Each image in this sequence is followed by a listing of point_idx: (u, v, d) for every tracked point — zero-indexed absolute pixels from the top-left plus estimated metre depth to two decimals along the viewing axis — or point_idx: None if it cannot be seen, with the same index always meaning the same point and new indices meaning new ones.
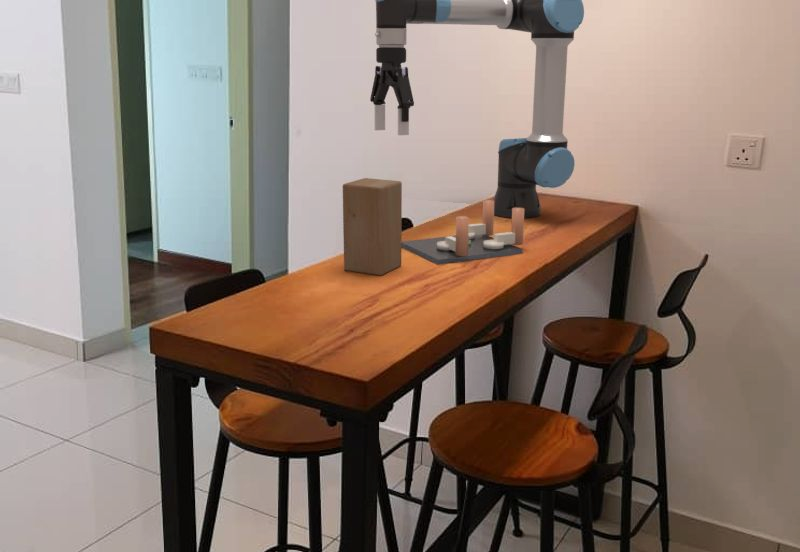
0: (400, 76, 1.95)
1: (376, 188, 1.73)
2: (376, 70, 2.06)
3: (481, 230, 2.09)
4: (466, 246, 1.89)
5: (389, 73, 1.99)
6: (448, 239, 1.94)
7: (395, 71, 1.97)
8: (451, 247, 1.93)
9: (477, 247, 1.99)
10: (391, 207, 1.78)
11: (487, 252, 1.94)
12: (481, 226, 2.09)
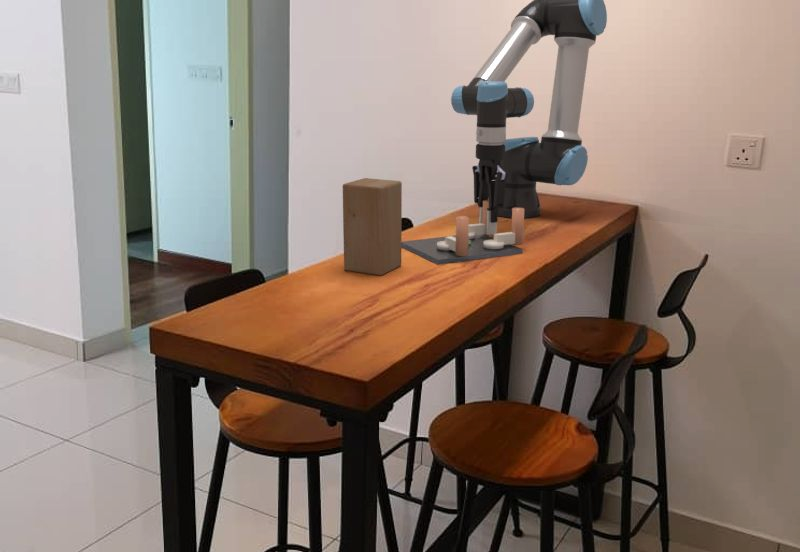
0: (498, 181, 2.02)
1: (376, 188, 1.73)
2: (474, 170, 2.11)
3: (481, 230, 2.09)
4: (466, 246, 1.89)
5: (488, 171, 2.04)
6: (448, 239, 1.94)
7: (495, 170, 2.03)
8: (451, 247, 1.93)
9: (477, 247, 1.99)
10: (391, 207, 1.78)
11: (487, 252, 1.94)
12: (481, 226, 2.09)
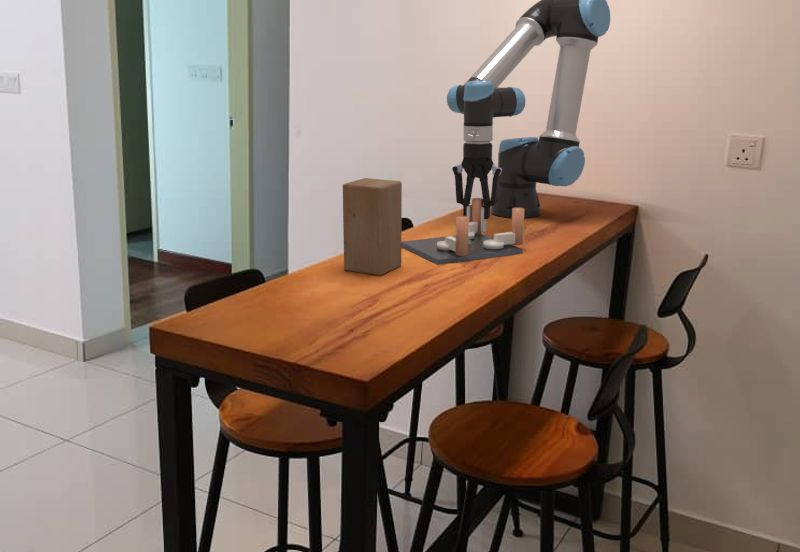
0: (497, 177, 2.07)
1: (376, 188, 1.73)
2: (455, 170, 2.11)
3: (475, 228, 2.11)
4: (466, 246, 1.89)
5: (482, 169, 2.07)
6: (448, 239, 1.94)
7: (490, 167, 2.07)
8: (451, 247, 1.93)
9: (477, 247, 1.99)
10: (391, 207, 1.78)
11: (487, 252, 1.94)
12: (475, 224, 2.11)
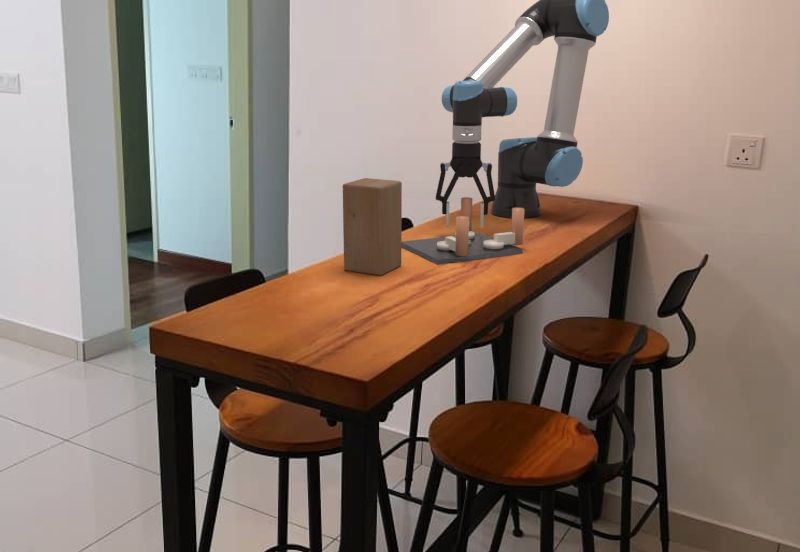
0: (490, 172, 2.09)
1: (376, 188, 1.73)
2: (443, 167, 2.09)
3: None
4: (466, 246, 1.89)
5: (474, 167, 2.09)
6: (448, 239, 1.94)
7: (481, 165, 2.09)
8: (451, 247, 1.93)
9: (477, 247, 1.99)
10: (391, 207, 1.78)
11: (487, 252, 1.94)
12: None
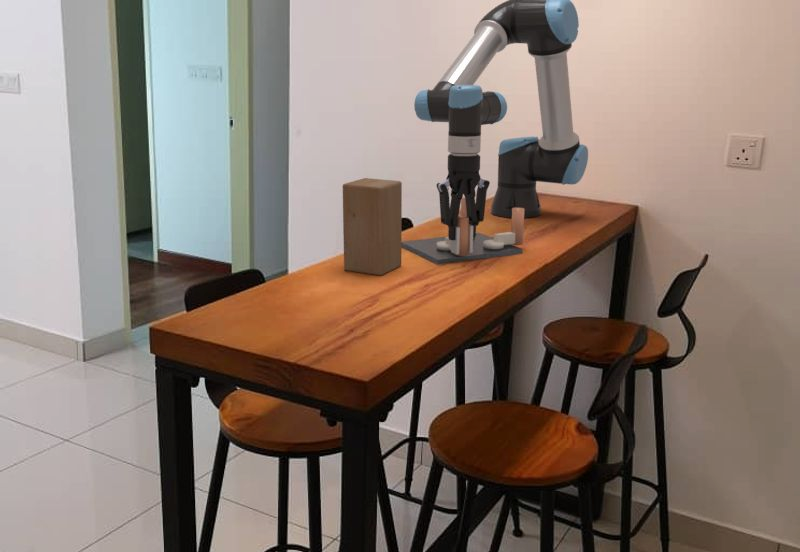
0: None
1: (376, 188, 1.73)
2: (444, 188, 1.83)
3: None
4: (466, 246, 1.89)
5: None
6: (448, 239, 1.94)
7: (479, 180, 1.87)
8: None
9: (477, 247, 1.99)
10: (391, 207, 1.78)
11: (487, 252, 1.94)
12: None
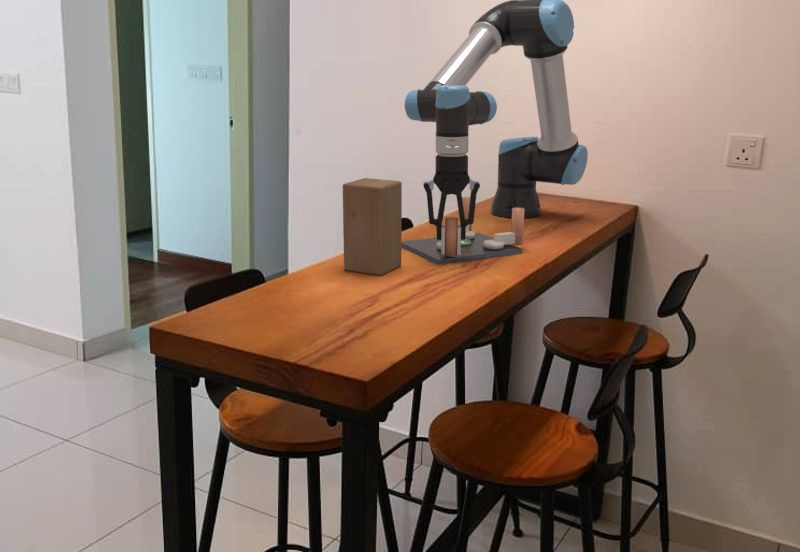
0: (476, 193, 1.85)
1: (376, 188, 1.73)
2: (427, 187, 1.85)
3: None
4: (453, 247, 1.88)
5: (460, 184, 1.84)
6: None
7: (468, 182, 1.85)
8: None
9: (477, 247, 1.99)
10: (391, 207, 1.78)
11: (487, 252, 1.94)
12: None
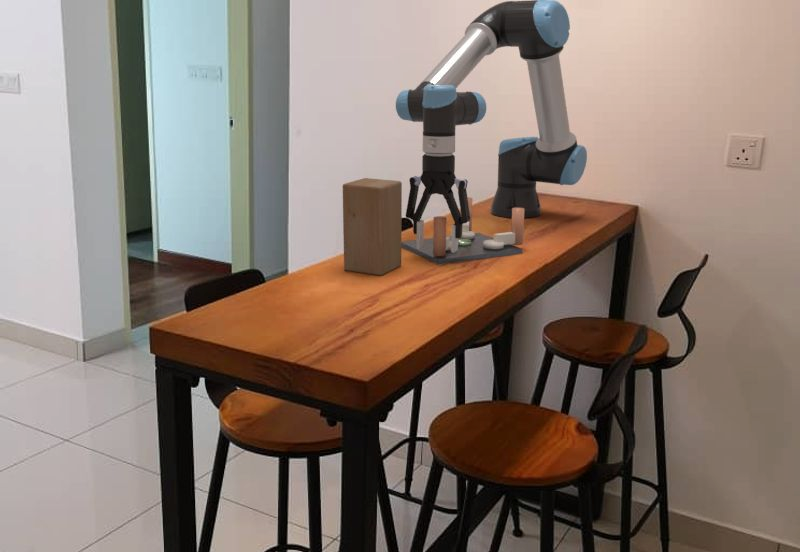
0: (463, 191, 1.83)
1: (376, 188, 1.73)
2: (412, 182, 1.87)
3: None
4: (439, 247, 1.89)
5: (444, 184, 1.84)
6: None
7: (453, 182, 1.84)
8: None
9: (477, 247, 1.99)
10: (391, 207, 1.78)
11: (487, 252, 1.94)
12: (469, 223, 2.12)
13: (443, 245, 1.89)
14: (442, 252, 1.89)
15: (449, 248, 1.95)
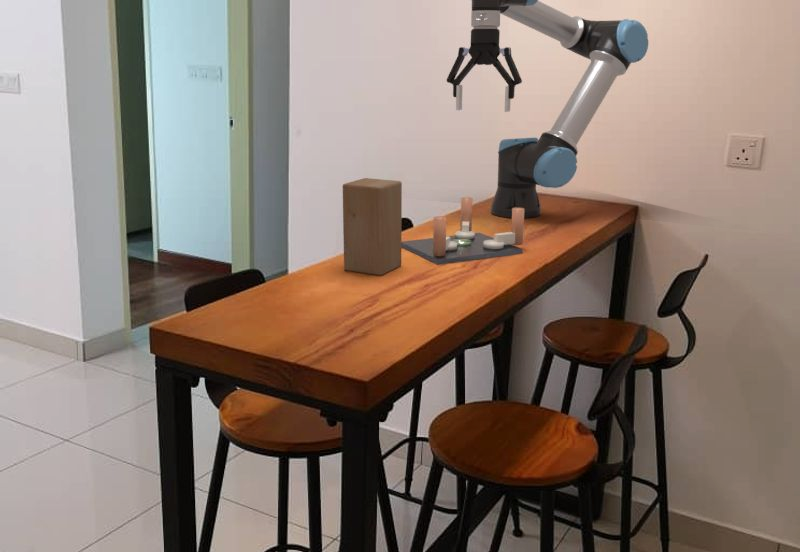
0: (509, 56, 2.08)
1: (376, 188, 1.73)
2: (460, 51, 2.12)
3: None
4: (439, 247, 1.89)
5: (490, 53, 2.09)
6: None
7: (498, 51, 2.09)
8: None
9: (477, 247, 1.99)
10: (391, 207, 1.78)
11: (487, 252, 1.94)
12: (469, 223, 2.12)
13: (443, 245, 1.89)
14: (442, 252, 1.89)
15: (449, 248, 1.95)
